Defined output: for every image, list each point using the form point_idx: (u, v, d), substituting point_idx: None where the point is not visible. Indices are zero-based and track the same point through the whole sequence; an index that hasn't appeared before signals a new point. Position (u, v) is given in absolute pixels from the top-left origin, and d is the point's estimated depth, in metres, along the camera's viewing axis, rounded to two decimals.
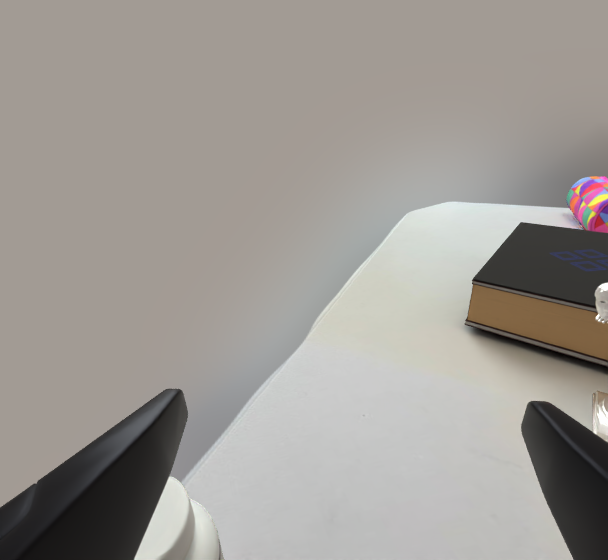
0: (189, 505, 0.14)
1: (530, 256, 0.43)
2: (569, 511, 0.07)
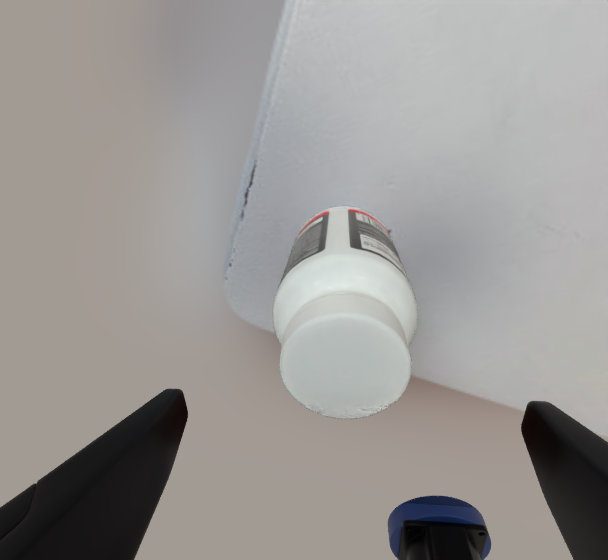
0: (407, 348, 0.10)
1: None
2: (569, 511, 0.07)
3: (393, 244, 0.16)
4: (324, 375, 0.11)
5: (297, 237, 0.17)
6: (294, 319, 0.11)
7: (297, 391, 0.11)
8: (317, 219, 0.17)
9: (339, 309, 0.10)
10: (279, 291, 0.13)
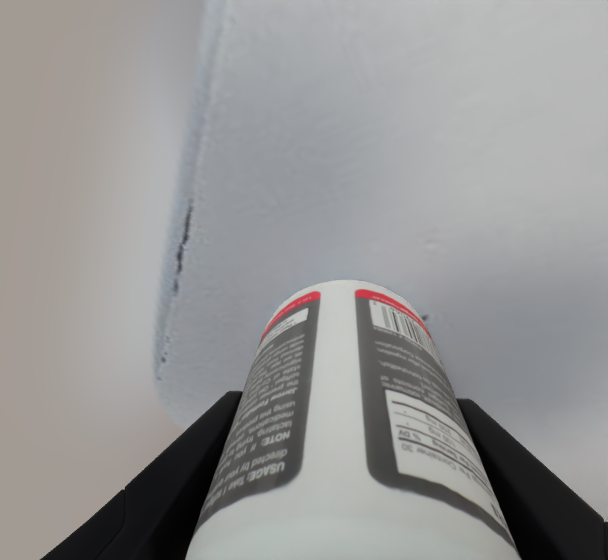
0: None
1: None
2: None
3: (442, 368, 0.08)
4: None
5: (263, 339, 0.10)
6: None
7: None
8: (298, 311, 0.09)
9: None
10: None
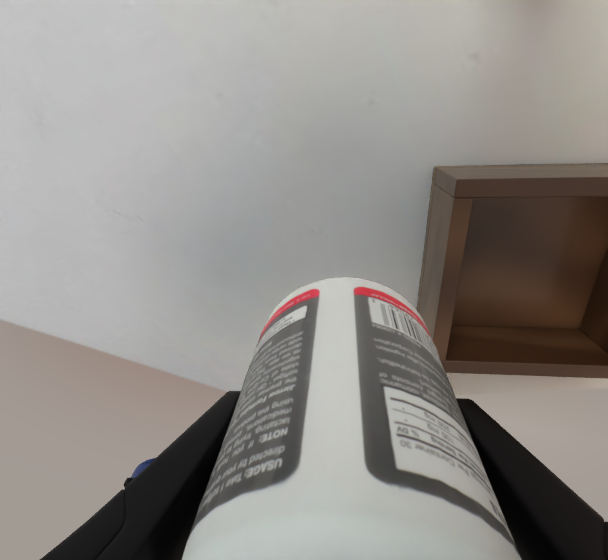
0: None
1: None
2: None
3: (441, 365, 0.08)
4: None
5: (262, 336, 0.10)
6: None
7: None
8: (297, 309, 0.09)
9: None
10: None
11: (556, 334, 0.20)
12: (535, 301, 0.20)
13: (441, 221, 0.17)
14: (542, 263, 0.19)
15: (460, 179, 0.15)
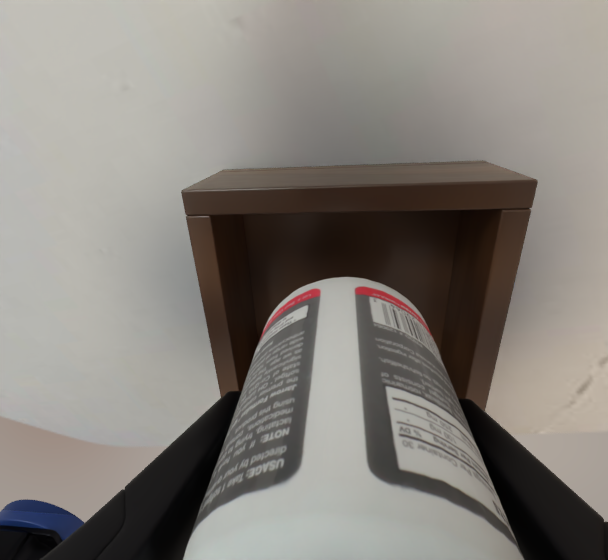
0: None
1: None
2: None
3: (443, 365, 0.08)
4: None
5: (263, 336, 0.10)
6: None
7: None
8: (298, 308, 0.09)
9: None
10: None
11: None
12: None
13: None
14: None
15: (185, 190, 0.11)
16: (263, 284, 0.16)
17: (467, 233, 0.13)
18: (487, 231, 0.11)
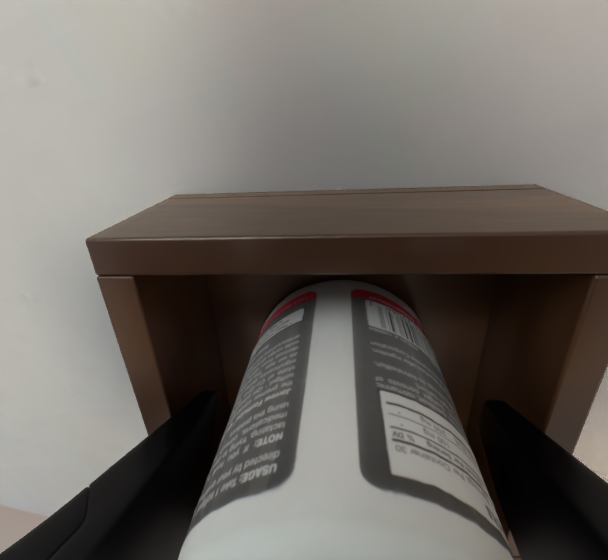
0: None
1: None
2: (515, 508, 0.07)
3: (438, 368, 0.08)
4: None
5: (259, 339, 0.10)
6: None
7: None
8: (294, 311, 0.09)
9: None
10: None
11: None
12: None
13: None
14: None
15: (92, 239, 0.07)
16: (234, 343, 0.12)
17: (515, 289, 0.09)
18: (559, 298, 0.07)
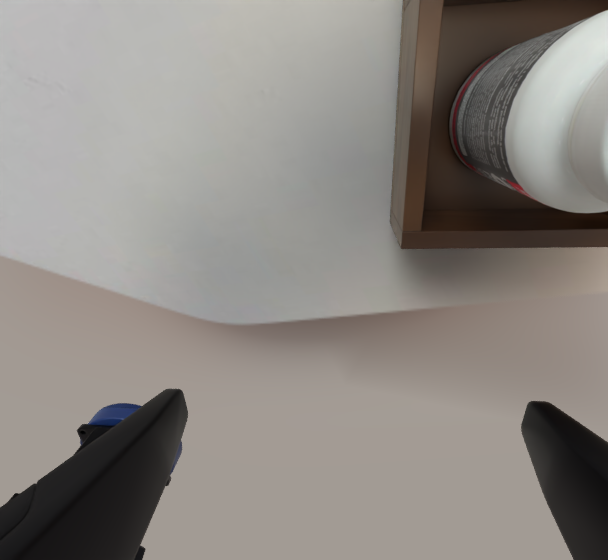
0: None
1: None
2: (569, 511, 0.07)
3: None
4: None
5: (474, 78, 0.14)
6: None
7: None
8: (506, 50, 0.14)
9: None
10: (540, 70, 0.09)
11: (558, 211, 0.17)
12: None
13: (410, 40, 0.13)
14: None
15: None
16: None
17: None
18: None
